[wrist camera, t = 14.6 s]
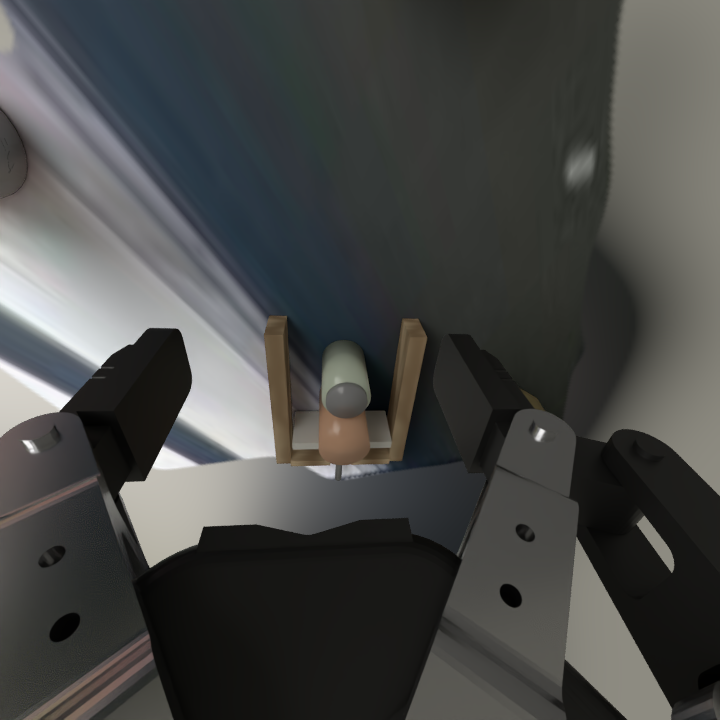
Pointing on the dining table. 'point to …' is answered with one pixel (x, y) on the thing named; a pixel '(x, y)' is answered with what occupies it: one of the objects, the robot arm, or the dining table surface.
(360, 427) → the terracotta jar
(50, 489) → the robot arm
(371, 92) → the dining table surface
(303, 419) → the pusher plate
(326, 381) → the sage jar
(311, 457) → the lane
